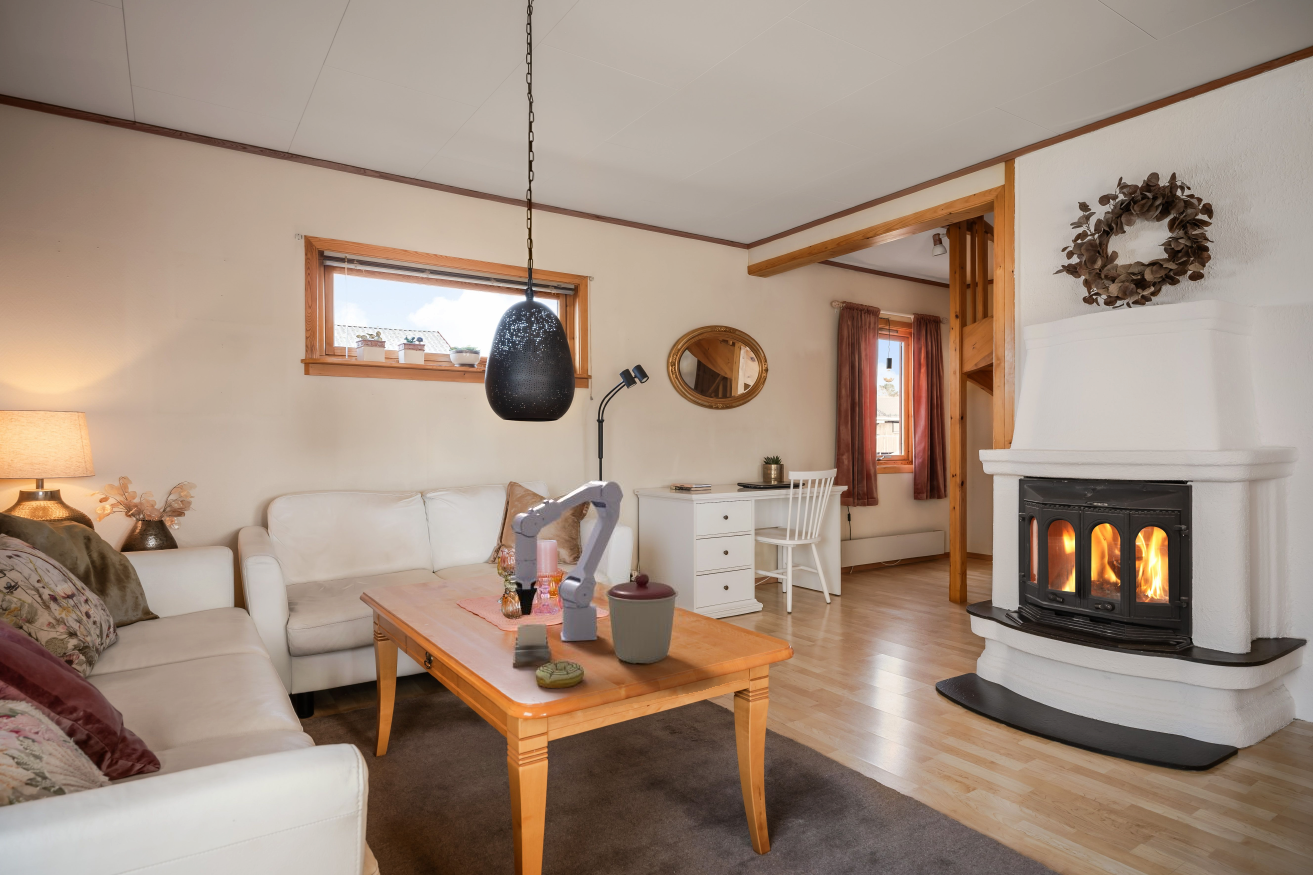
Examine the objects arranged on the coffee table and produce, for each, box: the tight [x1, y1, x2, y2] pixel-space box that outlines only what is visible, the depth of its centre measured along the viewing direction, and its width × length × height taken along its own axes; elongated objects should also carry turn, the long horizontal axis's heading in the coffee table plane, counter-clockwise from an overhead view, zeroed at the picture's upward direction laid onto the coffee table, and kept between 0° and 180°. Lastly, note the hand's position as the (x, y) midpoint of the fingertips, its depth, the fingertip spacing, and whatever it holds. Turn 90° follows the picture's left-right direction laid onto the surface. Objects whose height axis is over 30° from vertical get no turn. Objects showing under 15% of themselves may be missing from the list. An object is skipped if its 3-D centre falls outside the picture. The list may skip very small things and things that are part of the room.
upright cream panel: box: [517, 623, 547, 646], centre depth 179 cm, size 7×2×7 cm, turn 100°
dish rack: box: [512, 635, 552, 668], centre depth 179 cm, size 9×14×4 cm, turn 10°
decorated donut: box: [534, 660, 585, 689], centre depth 161 cm, size 10×11×4 cm
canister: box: [605, 573, 679, 664], centre depth 179 cm, size 18×18×21 cm
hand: (525, 611), depth 187 cm, fingers open, 7 cm apart
